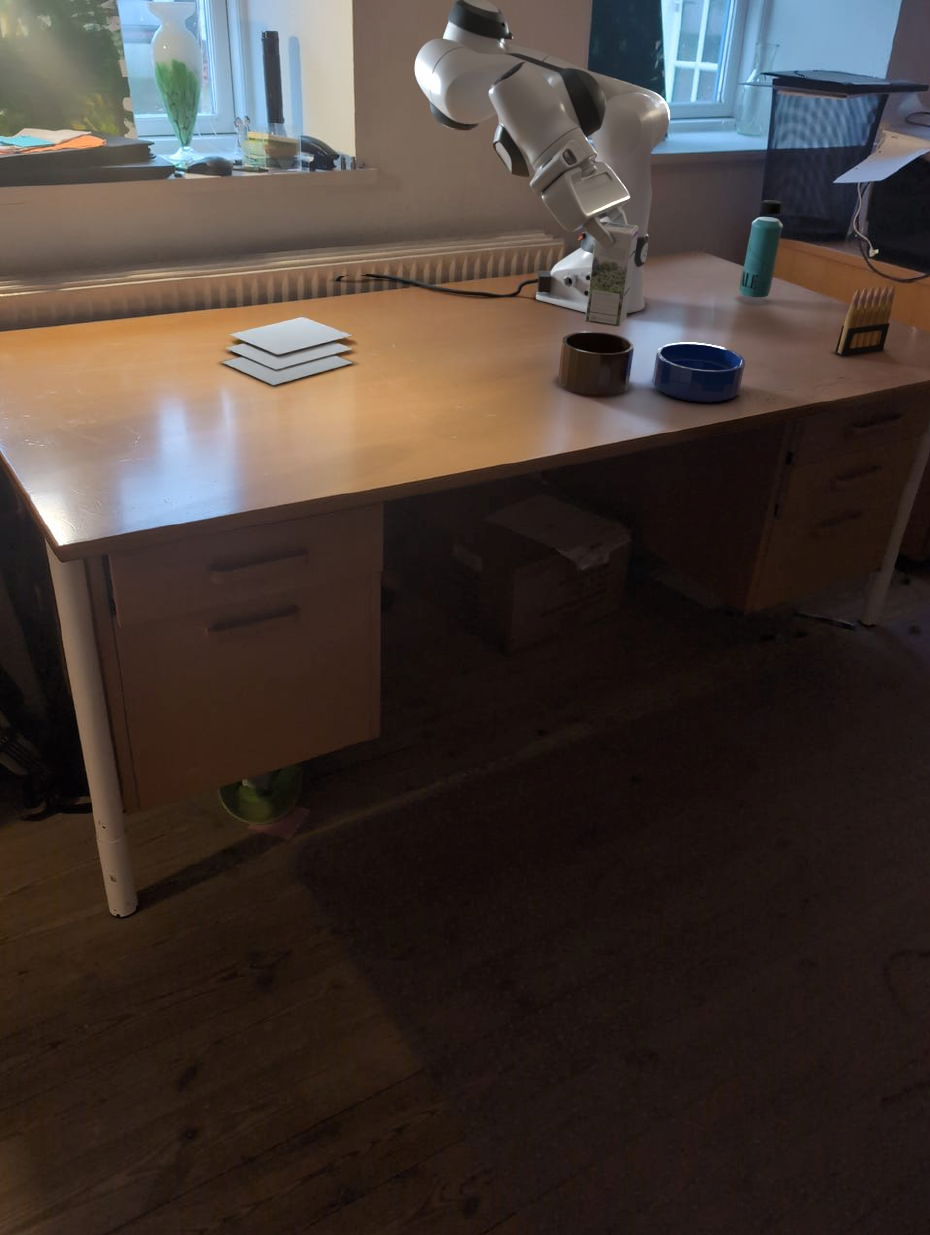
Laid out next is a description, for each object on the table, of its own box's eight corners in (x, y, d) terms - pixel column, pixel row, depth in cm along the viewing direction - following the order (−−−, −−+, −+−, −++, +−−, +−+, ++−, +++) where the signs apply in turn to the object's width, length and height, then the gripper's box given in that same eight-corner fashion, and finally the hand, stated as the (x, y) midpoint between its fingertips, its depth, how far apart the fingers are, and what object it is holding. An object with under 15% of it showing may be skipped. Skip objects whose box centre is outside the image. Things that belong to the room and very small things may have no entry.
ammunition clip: (841, 356, 186) (858, 290, 179) (834, 353, 187) (850, 287, 180) (883, 350, 190) (901, 285, 183) (875, 347, 191) (893, 282, 185)
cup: (547, 387, 165) (551, 345, 161) (574, 367, 174) (579, 327, 170) (613, 402, 160) (618, 359, 157) (638, 381, 169) (644, 340, 165)
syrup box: (626, 318, 163) (639, 224, 155) (619, 328, 158) (632, 231, 150) (592, 313, 164) (603, 219, 157) (584, 322, 160) (595, 226, 152)
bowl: (640, 392, 165) (644, 359, 162) (667, 368, 175) (672, 337, 172) (724, 411, 159) (731, 377, 156) (748, 385, 170) (754, 353, 167)
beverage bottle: (770, 299, 216) (791, 200, 205) (764, 306, 211) (785, 205, 200) (740, 294, 218) (759, 196, 207) (733, 301, 213) (752, 201, 202)
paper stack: (388, 352, 175) (388, 348, 175) (273, 385, 159) (273, 381, 159) (303, 320, 188) (302, 316, 188) (188, 347, 172) (188, 343, 172)
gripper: (578, 169, 162) (627, 241, 164) (524, 188, 147) (579, 267, 149) (607, 142, 158) (657, 217, 160) (555, 158, 143) (611, 241, 145)
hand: (619, 241), depth 154 cm, fingers closed on syrup box, 6 cm apart
